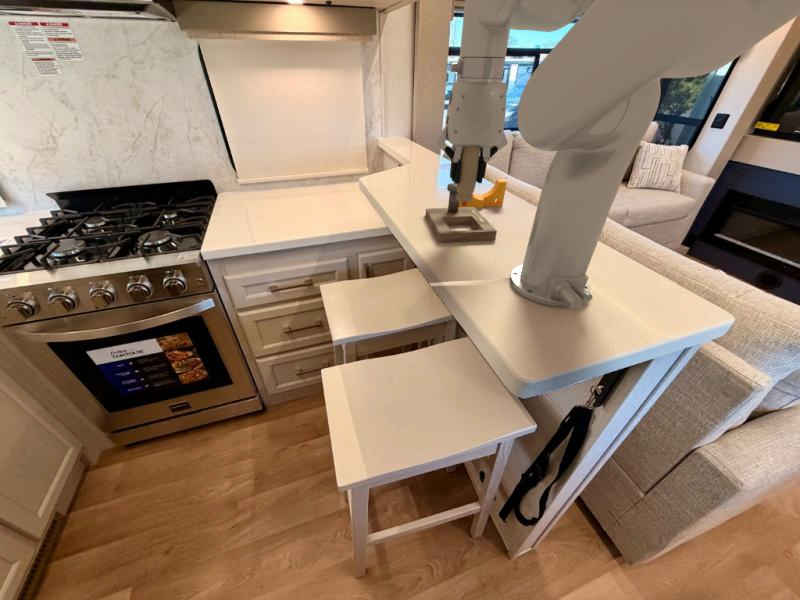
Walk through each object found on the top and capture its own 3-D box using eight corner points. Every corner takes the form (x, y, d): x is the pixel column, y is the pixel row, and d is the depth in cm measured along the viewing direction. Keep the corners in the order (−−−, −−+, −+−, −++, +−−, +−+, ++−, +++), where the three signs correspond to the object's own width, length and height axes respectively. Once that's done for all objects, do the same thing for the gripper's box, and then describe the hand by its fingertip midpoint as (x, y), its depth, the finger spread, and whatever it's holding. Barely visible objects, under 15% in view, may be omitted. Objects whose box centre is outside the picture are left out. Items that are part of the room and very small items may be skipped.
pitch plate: (495, 240, 69) (502, 202, 64) (439, 242, 67) (442, 204, 63) (473, 214, 81) (477, 181, 76) (425, 216, 80) (427, 183, 75)
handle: (444, 198, 69) (452, 118, 60) (469, 195, 71) (480, 116, 63) (457, 206, 65) (468, 121, 57) (483, 201, 68) (496, 119, 59)
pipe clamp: (458, 209, 85) (460, 183, 81) (455, 203, 88) (458, 179, 85) (503, 209, 85) (508, 184, 81) (499, 203, 89) (504, 179, 85)
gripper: (437, 71, 52) (429, 188, 62) (537, 72, 54) (513, 186, 64) (427, 70, 58) (422, 177, 68) (517, 72, 60) (498, 176, 70)
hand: (466, 180), depth 66 cm, fingers closed on handle, 4 cm apart
